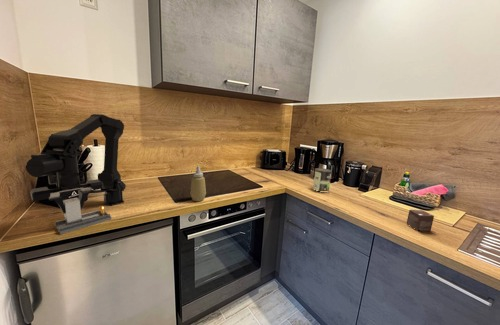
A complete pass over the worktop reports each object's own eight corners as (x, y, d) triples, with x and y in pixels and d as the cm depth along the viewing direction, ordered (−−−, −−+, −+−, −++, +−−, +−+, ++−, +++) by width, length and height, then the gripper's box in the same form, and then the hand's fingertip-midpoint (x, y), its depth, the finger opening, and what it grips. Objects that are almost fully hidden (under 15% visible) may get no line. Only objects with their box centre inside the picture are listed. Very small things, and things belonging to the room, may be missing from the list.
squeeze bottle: (199, 195, 109) (200, 164, 106) (209, 199, 104) (209, 166, 101) (187, 199, 103) (186, 166, 100) (196, 204, 98) (196, 168, 95)
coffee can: (330, 190, 132) (333, 169, 130) (326, 194, 124) (329, 172, 121) (315, 186, 138) (318, 167, 136) (310, 190, 130) (312, 169, 128)
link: (94, 213, 80) (92, 193, 78) (98, 217, 77) (96, 197, 75) (64, 221, 73) (62, 199, 71) (68, 226, 70) (65, 203, 68)
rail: (103, 212, 84) (102, 202, 83) (111, 219, 79) (110, 208, 78) (54, 225, 72) (53, 213, 71) (60, 234, 67) (58, 222, 66)
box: (418, 224, 89) (422, 209, 88) (431, 232, 83) (435, 215, 82) (405, 224, 89) (408, 209, 87) (417, 231, 83) (421, 215, 82)
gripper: (92, 163, 81) (96, 198, 84) (24, 169, 67) (31, 212, 70) (102, 167, 75) (105, 206, 78) (29, 176, 60) (36, 223, 63)
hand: (72, 211), depth 72 cm, fingers closed on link, 4 cm apart
